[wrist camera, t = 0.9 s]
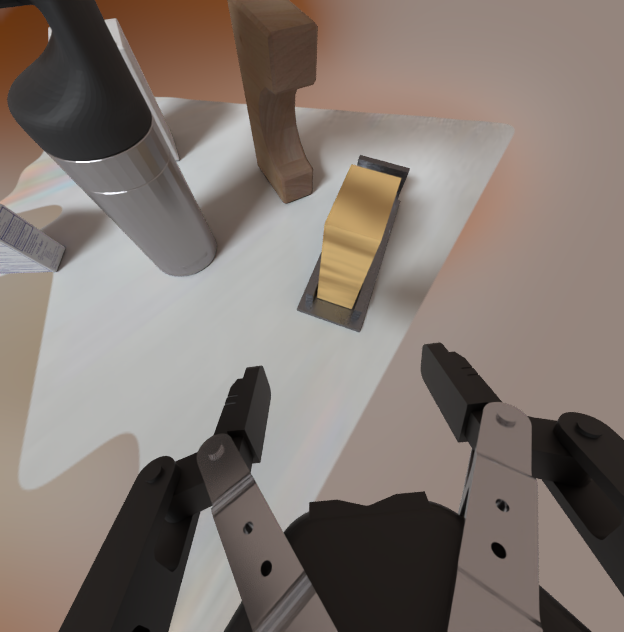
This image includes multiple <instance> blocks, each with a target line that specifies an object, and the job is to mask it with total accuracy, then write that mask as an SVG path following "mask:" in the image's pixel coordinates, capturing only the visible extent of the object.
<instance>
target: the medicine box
mask: <svg viewBox="0 0 624 632" xmlns="http://www.w3.org/2000/svg"><path fill="white" fill-rule="evenodd" d="M64 251H65V247H64V246H62V245H61V244H59V243H58V242H56V241H55V240H53V239H52V238H50V237H49V236H47V235H46V234H45V233H43V232H42V231H40V230H39V229H37V228H36V227H34V226H33V225H31V224H30V223H28V222H27V221H26V220H24V219H23V218H21V217H20V216H18V215H17V214H15V213H14V212H12V211H11V210H10V209H8V208H7V207H5V206H4V205H2V204H0V274H2V273H32V272H56V271H57V269H58V267H59V264H60V261H61V258H62V255H63V253H64Z"/></svg>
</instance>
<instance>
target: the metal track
mask: <svg viewBox="0 0 624 632" xmlns="http://www.w3.org/2000/svg"><path fill="white" fill-rule="evenodd" d="M357 166H359V167H363V168H366V169H370V170H374V171H377V172H381V173H385V174H388V175H392V176H395V177H399V178H401V181H400V184H399V187H398V190H397V193H396V197H395V200H394V203H393V206H392V209H391V212H390V215H389V218H388V221H387V224H386V228H385V231H384V234H383V237H382V240H381V243H380V245H379V247H378V249H377V252H376V254H375V256H374V259H373V261H372V263H371V266H370V268H369V270H368V272H367V275H366V277H365V279H364V282H363V284H362V286H361V289H360V291H359V293H358V295H357V298H356V300H355V302H354V305H353V307H352V309H349V308H346V307H343V306H340V305H338V304H335V303H332V302H329V301H326V300H323V299H320V298H317V293H318V283H319V274H320V264H321V255H322V252H321V254H320V257H319V259H318V261H317V264H316V266H315V268H314V271H313V273H312V275H311V277H310V280H309V282H308V284H307V287H306V289H305V291H304V294H303V296H302V298H301V301H300V303H299V305H298V308H297V311H300V312H303V313H306V314H308V315H311V316H314V317H317V318H320V319H323V320H326V321H328V322H331V323H334V324H337V325H340V326H343V327H345V328H348V329H351V330H354V331H357V332H360V330H361V327H362V324H363V320H364V317H365V314H366V311H367V307H368V304H369V301H370V298H371V294H372V291H373V288H374V285H375V281H376V278H377V275H378V272H379V269H380V265H381V262H382V259H383V256H384V252H385V249H386V246H387V243H388V239H389V236H390V233H391V230H392V226H393V223H394V220H395V217H396V213H397V210H398V207H399V204H400V201H399V200H398V197H399V194H400V192H401V189H402V187H403V185H404V182H405V180H406V177H407V175H408V173H409V169H410V168H406V167H403V166H399V165H395V164H392V163H388V162H384V161H380V160H377V159H373V158H369V157H366V156H362V155H360V157H359V159H358V164H357Z"/></svg>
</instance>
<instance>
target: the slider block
mask: <svg viewBox="0 0 624 632" xmlns="http://www.w3.org/2000/svg"><path fill="white" fill-rule="evenodd" d="M400 181H401V178H399V177H395V176H392V175H388V174H385V173H381V172H377V171H374V170H370V169H366V168H363V167H359V166H356V165H352V164H351V167H350V169H349V171H348V173H347V175H346V178H345V180H344V182H343V184H342V186H341V189H340V191H339V193H338V195H337V198H336V200H335V202H334V204H333V206H332V209H331V211H330V213H329V215H328V217H327V220H326V222H325V226H324V235H323V245H322V255H321V264H320V274H319V283H318V293H317V298H320V299H323V300H326V301H329V302H332V303H335V304H338V305H340V306H343V307H346V308H349V309H352V307H353V305H354V302H355V300H356V298H357V295H358V293H359V291H360V289H361V286H362V284H363V282H364V279H365V277H366V275H367V272H368V270H369V268H370V266H371V263H372V261H373V259H374V256H375V254H376V252H377V249H378V247H379V245H380V243H381V240H382V237H383V234H384V231H385V228H386V224H387V221H388V218H389V215H390V212H391V209H392V206H393V203H394V200H395V197H396V193H397V190H398V187H399V184H400Z"/></svg>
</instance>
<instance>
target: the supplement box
mask: <svg viewBox="0 0 624 632" xmlns="http://www.w3.org/2000/svg"><path fill="white" fill-rule="evenodd" d="M104 21H105V23H106V25H107V27H108V29H109V31H110V33H111V35H112V37H113V39H114V41H115V43H116V45H117V47H118V49H119V51H120V53H121V55H122V57H123V59H124V60H125V62H126V64H127V66H128V68H129V70H130V72H131V74H132V76H133V78H134V80H135V82H136V84H137V86H138V88H139V90H140V92H141V93H142V95H143V97H144V99H145V101H146V103H147V105H148V107H149V109H150V111H151V113H152V115H153V117H154V119H155V121H156V123H157V125H158V127H159V129H160V131H161V133H162V135H163V137H164V139H165V141H166V143H167V145H168V146H169V148H170V150H171V152H172V154H173V156H174V158H175V160H176V161H178V160H179V156H178V153H177V149H176V146H175V143H174V140H173V136H172V133H171V131H170V129H169V127H168V125H167V123H166V121H165V119H164V116H163V114H162V112H161V110H160V108H159V106H158V104H157V102H156V100H155V98H154V96H153V94H152V91H151V89H150V88H149V85H148V83H147V81H146V79H145V77H144V75H143V73H142V71H141V68H140V66H139V64H138V62H137V60H136V58H135V56H134V54H133V52H132V50H131V48H130V46H129V44H128V41H127V39H126V37H125V35H124V33H123V31H122V29H121V27H120V25H119V23H118V21H117V19H109V20H104ZM48 29H49V31H48V34H49V35H48V36H49V39H50V36H51V33H52V30H51V28H48Z"/></svg>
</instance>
